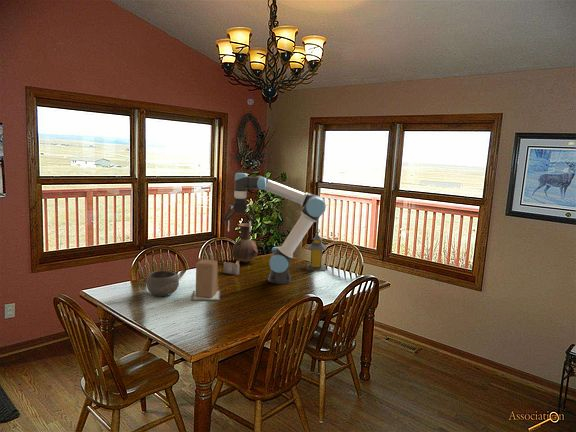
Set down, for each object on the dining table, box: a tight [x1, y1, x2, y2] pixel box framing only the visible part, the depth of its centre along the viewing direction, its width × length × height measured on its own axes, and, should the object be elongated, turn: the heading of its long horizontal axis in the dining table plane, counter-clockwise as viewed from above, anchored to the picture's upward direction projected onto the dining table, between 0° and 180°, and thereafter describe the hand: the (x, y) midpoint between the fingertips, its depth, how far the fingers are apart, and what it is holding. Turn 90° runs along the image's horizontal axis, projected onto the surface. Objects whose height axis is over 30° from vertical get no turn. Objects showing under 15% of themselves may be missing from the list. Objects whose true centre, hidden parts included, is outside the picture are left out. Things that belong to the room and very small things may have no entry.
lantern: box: [305, 228, 327, 272], centre depth 317 cm, size 14×14×30 cm
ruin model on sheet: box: [222, 260, 240, 276], centre depth 295 cm, size 11×3×10 cm, turn 67°
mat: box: [190, 290, 221, 302], centre depth 246 cm, size 16×16×1 cm
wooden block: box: [195, 259, 218, 298], centre depth 244 cm, size 10×10×20 cm
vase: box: [231, 222, 259, 264], centre depth 324 cm, size 25×20×30 cm
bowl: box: [146, 269, 180, 297], centre depth 244 cm, size 18×18×13 cm
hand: (239, 231), depth 265 cm, fingers open, 13 cm apart
